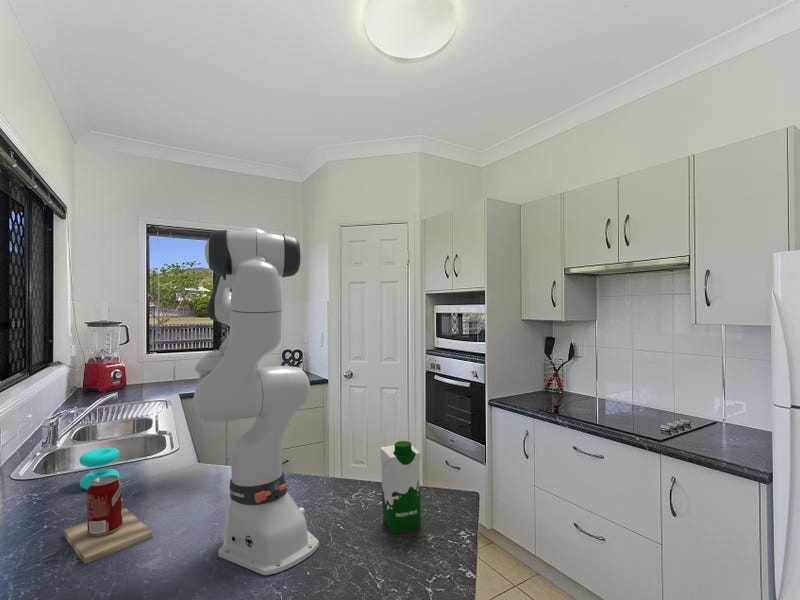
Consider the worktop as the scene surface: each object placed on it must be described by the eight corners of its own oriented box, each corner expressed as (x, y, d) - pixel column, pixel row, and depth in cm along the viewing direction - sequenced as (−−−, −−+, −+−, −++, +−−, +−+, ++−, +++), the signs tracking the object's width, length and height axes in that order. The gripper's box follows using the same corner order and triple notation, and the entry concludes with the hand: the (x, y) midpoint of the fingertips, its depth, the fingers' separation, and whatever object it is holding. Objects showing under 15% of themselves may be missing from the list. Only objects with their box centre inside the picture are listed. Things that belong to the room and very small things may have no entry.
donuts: (84, 460, 124) (75, 452, 130) (85, 494, 124) (76, 485, 130) (123, 450, 131) (113, 444, 138) (124, 483, 131) (114, 475, 138)
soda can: (106, 539, 97) (104, 486, 97) (80, 537, 98) (78, 485, 98) (129, 523, 103) (128, 474, 103) (104, 522, 104) (103, 473, 104)
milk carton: (391, 537, 97) (388, 449, 97) (378, 518, 106) (376, 438, 106) (426, 529, 100) (423, 444, 101) (411, 511, 109) (409, 433, 109)
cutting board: (152, 537, 100) (152, 531, 100) (85, 564, 90) (84, 557, 90) (126, 514, 111) (125, 508, 111) (63, 535, 102) (63, 529, 102)
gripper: (206, 343, 140) (180, 378, 131) (253, 345, 131) (228, 382, 122) (217, 355, 144) (192, 390, 135) (263, 357, 135) (240, 395, 126)
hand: (210, 386), depth 129 cm, fingers open, 8 cm apart
